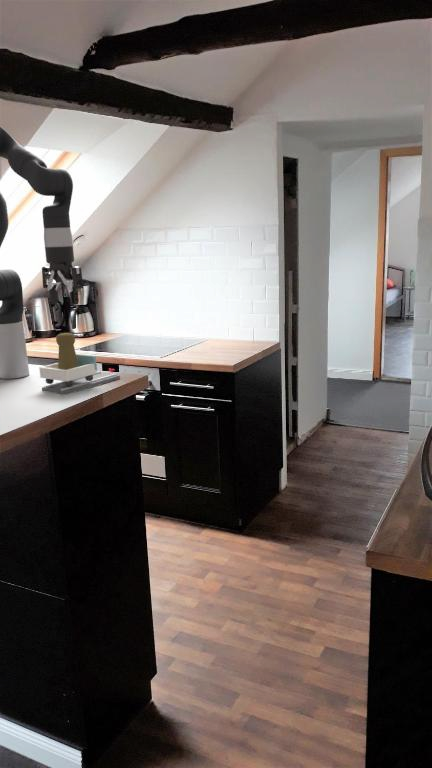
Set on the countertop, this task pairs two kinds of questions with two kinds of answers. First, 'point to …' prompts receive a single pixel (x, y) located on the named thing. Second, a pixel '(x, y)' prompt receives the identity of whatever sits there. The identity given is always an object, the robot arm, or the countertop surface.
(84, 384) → the rail board
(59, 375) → the cart
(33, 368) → the countertop surface
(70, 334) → the olive green pepper mill
